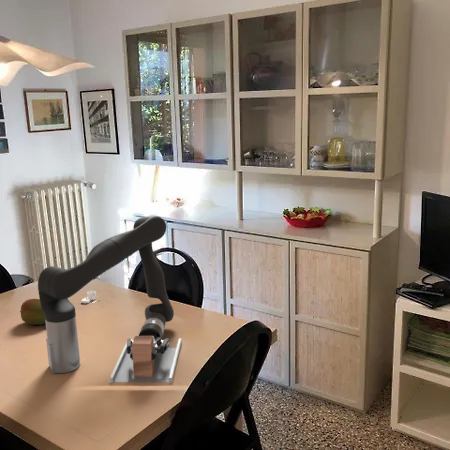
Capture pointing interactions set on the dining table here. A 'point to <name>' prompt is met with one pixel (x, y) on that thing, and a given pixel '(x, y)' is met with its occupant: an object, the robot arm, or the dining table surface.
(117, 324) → the dining table surface
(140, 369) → the terracotta block
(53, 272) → the robot arm
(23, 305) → the fruit
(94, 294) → the teacup and saucer
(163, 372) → the track
